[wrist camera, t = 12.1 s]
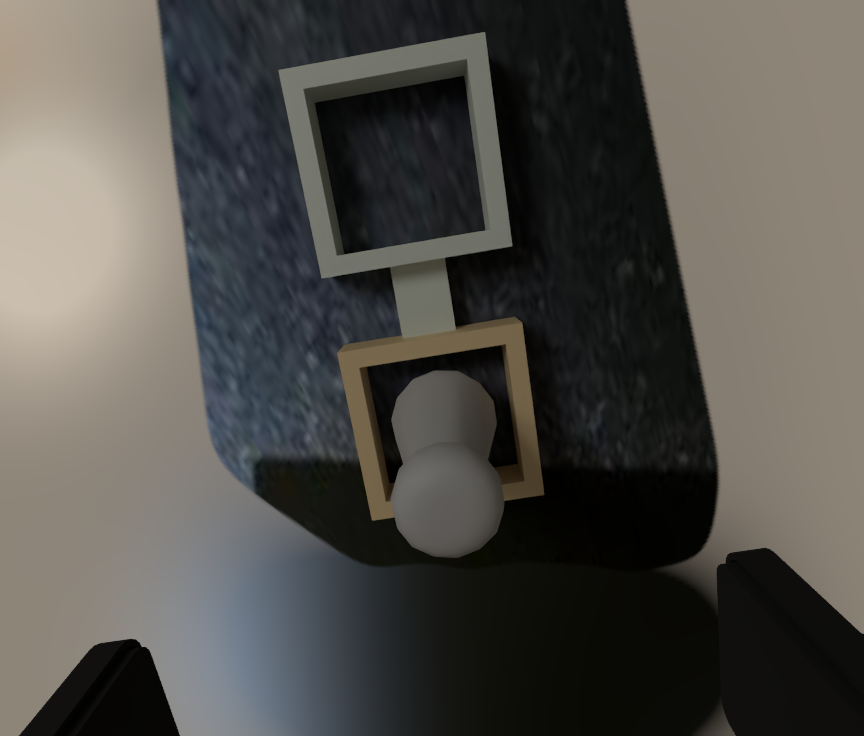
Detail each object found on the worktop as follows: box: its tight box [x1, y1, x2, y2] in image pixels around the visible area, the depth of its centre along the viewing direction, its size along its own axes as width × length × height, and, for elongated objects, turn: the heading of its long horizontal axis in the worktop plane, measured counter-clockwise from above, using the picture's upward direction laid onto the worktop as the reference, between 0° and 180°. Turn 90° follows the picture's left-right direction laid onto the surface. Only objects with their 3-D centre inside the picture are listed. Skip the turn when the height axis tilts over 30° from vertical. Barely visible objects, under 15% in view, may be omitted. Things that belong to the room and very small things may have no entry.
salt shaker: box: [391, 371, 504, 558], centre depth 25 cm, size 6×6×13 cm
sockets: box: [278, 32, 544, 521], centre depth 29 cm, size 24×10×2 cm, turn 9°
